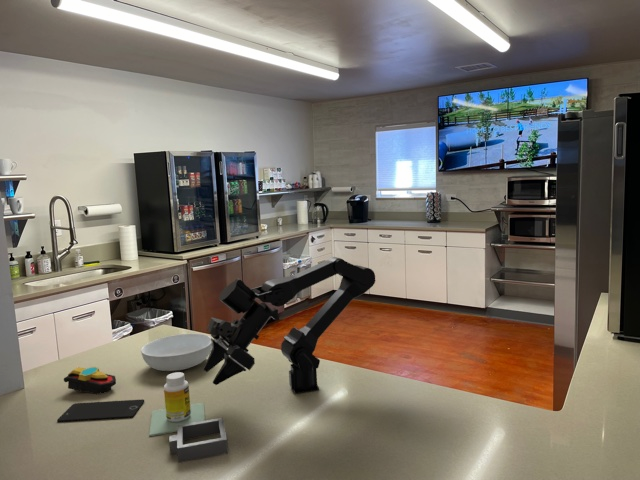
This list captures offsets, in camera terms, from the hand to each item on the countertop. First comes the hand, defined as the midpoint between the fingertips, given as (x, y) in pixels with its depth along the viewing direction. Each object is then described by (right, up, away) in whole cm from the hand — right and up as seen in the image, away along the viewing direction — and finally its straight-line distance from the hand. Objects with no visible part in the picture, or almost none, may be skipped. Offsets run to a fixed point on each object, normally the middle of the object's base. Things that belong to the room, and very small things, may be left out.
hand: (209, 377), depth 115 cm
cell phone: (-27, -10, +3) cm, 29 cm away
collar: (+2, -10, -14) cm, 18 cm away
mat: (-7, -9, -2) cm, 12 cm away
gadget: (-35, -8, +16) cm, 40 cm away
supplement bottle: (-7, -9, -2) cm, 11 cm away
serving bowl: (-17, -6, +32) cm, 37 cm away
